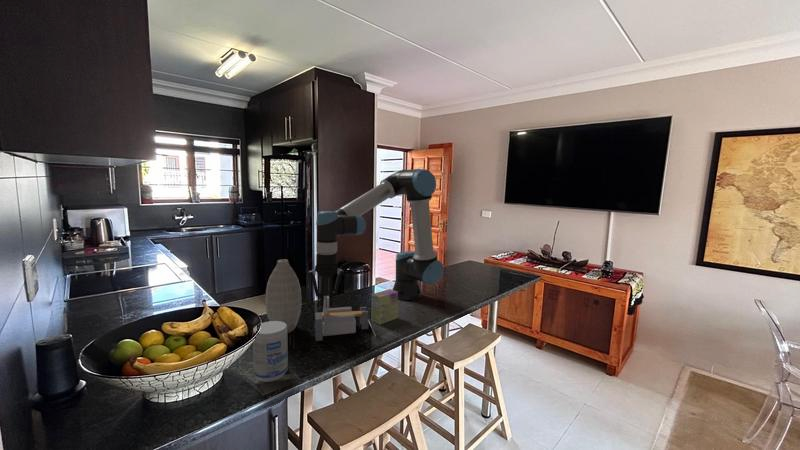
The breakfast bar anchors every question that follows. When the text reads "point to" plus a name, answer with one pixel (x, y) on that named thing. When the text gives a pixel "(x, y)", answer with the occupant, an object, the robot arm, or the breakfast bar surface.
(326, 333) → the base
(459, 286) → the breakfast bar surface
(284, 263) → the vase
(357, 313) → the strap
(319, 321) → the lock
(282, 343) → the supplement tub
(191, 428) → the breakfast bar surface
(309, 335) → the breakfast bar surface
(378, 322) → the box
